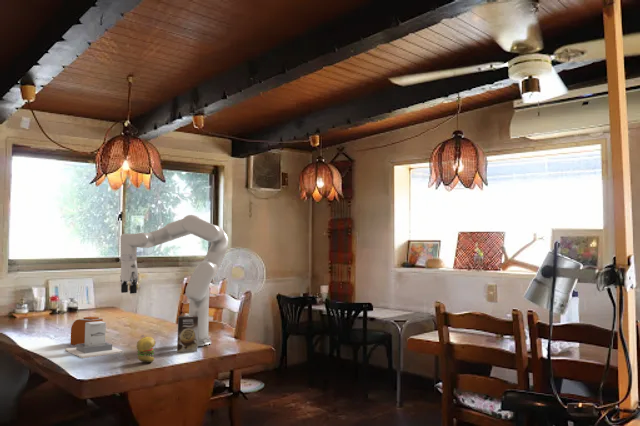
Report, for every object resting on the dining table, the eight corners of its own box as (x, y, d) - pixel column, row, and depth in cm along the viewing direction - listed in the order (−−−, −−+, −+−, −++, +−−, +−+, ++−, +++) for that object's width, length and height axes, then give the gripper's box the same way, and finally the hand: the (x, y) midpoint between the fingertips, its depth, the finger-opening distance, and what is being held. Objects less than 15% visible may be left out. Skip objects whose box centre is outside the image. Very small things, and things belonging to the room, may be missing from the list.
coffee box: (177, 353, 235) (177, 317, 236) (177, 350, 241) (177, 315, 242) (197, 351, 237) (198, 316, 238) (197, 349, 243) (197, 314, 245)
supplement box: (88, 352, 234) (89, 323, 234) (84, 349, 239) (84, 322, 240) (105, 349, 238) (106, 322, 239) (100, 347, 244) (101, 320, 245)
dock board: (123, 352, 236) (123, 345, 236) (82, 358, 224) (82, 350, 224) (104, 345, 254) (104, 338, 254) (65, 350, 241) (65, 343, 242)
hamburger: (158, 361, 217) (159, 332, 217) (148, 365, 210) (149, 335, 210) (142, 360, 219) (143, 332, 219) (132, 364, 212) (132, 334, 212)
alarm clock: (104, 344, 257) (105, 316, 258) (89, 347, 249) (89, 319, 250) (85, 341, 264) (86, 315, 265) (70, 344, 257) (71, 317, 258)
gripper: (143, 258, 253) (144, 293, 252) (128, 258, 266) (128, 291, 264) (129, 258, 248) (129, 294, 247) (113, 258, 260) (114, 292, 259)
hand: (128, 292), depth 256 cm, fingers open, 9 cm apart
